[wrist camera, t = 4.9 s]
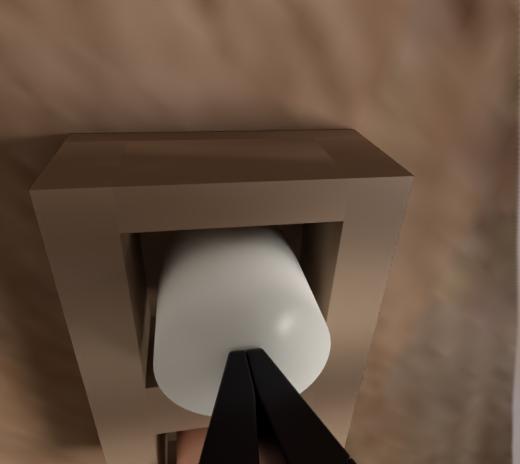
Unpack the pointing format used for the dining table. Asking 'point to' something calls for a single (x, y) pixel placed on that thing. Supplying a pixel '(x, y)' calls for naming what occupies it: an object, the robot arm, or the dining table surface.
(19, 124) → the dining table surface
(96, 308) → the button console
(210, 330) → the white rounded piece
